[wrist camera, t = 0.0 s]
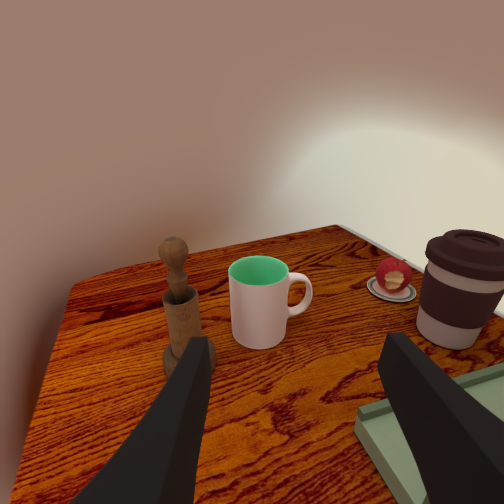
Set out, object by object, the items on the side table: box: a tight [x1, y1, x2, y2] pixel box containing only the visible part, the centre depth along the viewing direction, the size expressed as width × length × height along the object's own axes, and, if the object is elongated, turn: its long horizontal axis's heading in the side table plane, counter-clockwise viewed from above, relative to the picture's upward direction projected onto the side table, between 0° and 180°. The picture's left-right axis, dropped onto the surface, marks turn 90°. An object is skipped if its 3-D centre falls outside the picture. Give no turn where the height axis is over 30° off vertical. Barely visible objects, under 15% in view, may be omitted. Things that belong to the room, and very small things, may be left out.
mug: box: [229, 256, 313, 349], centre depth 42 cm, size 12×8×10 cm
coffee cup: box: [416, 229, 504, 350], centre depth 39 cm, size 10×10×15 cm
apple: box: [367, 258, 416, 302], centre depth 51 cm, size 8×8×6 cm
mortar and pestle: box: [159, 237, 216, 378], centre depth 34 cm, size 7×6×18 cm
